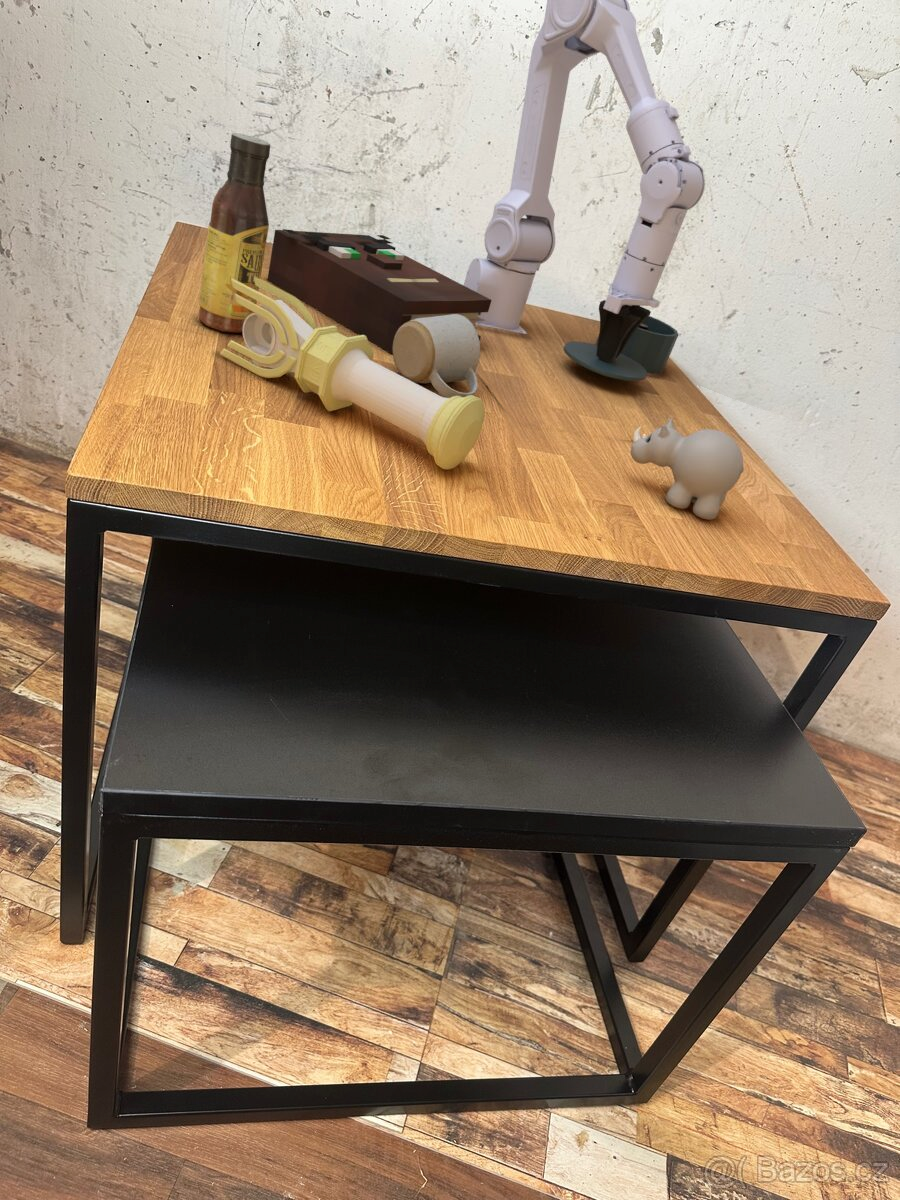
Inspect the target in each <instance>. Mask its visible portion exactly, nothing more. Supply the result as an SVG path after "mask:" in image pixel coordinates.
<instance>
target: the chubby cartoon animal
mask: <svg viewBox="0 0 900 1200" xmlns="http://www.w3.org/2000/svg"><path fill="white" fill-rule="evenodd" d="M641 428H642V426H639V427H637V429H636V430H635V431H634V432H633V436H632V444H631V447H630V457H631V458H632V460H633V461H634V462H635V463H638V464H641V465H645V464H649V463H651V464H652V465H656V466H658V467H659V468H660V467H661V468H664V467H666V468H667V467H668V468H670V470H671V472H672V476H673V479H674V482H673V484H672V485H671V486H670V488H669V489H668V491H667V493H666V495H665V500H666V502H667V504H669V505H670V506H672V507H674V508H676V509H683V510H684V509H687V508H688V507H689V506H690V504H691V503H693V506H692V513H693V514H694V515H695V516H696V517H698V518H700V519H704V520H711V521H712V520H714V519H716V518H717V516H718V514H719V512H720V507H722V505H723V504H724V503H725V500H726V497H727V493H728V492H729V491H730V490H732V489H733V488H734V487H735V486H736V484H737V483H738V482H739V479H740V477H741V475H742V474H743V472H744V471H745V467H744V456H743V453H742V450H741V447H740V446H739V444H738V442H737V441H736V440H735V439H734V438H733V437H732V436H731V435H729V434H727V433H726V432H724V431H722V430H719V429H711V428H709V429H708V428H706V429H700V430H696V431H694V432H692V433H690V434H688V435H686V436H683V435H682V434H681V433H680V432H679V431H678V430H677V429H675V428H674V420H673V418H670V419H668V421H667V424H666V425H665V424H662V425H661V427H658V428H656V429H655V430H653V431H652V432H651V433H650V434H648V435H647V434H646V433H643V434H642V436H641Z"/></svg>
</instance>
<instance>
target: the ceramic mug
mask: <svg viewBox="0 0 900 1200" xmlns="http://www.w3.org/2000/svg"><path fill="white" fill-rule="evenodd" d="M478 335H479V334H478V332H477V329H476V327H475V328H474V326H473V324H472V323H471V322H470V321H469V320H468V319H467V318H466V317H464V316H462V315H459V314H451V315H444V316H435V317H427V318H417V319H414V320H411V321H408V322H406V323H404V324H403V325H402V326H401V327H400V328H399V329H398V331H397V332H396V334H395V337H394V341H393V355H392V357H393V361H394V364H395V367H396V369H397V370H398V372H399V373H400V374H399V375H400V376H402V377H404V378H406V379H408V380H410V381H412V382H414V383H416V384H431V385H432V386H433V388H434V389H435V390H436V392H437V393H438V394H440V396H441V397H444V398H451V397H453V396H461V397H466V396H469V395H473V396H475V394H476V393H477V391H478V379H477V376H476V373H475V371H476V370H477V367H478V365H479V363H480V359H481V342H480V341H479V337H478ZM463 381H466V383H467V385H468V386H467V387H468V389H469V392H462V391H461V392H460V391H457V390H456V389H454V388H451V387H450V386H449V385H448V384H447V383H458V382H463Z"/></svg>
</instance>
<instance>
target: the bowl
mask: <svg viewBox="0 0 900 1200" xmlns="http://www.w3.org/2000/svg"><path fill="white" fill-rule="evenodd" d="M642 324H645V325H647V326H648V330H644V329H641V328H637V329H636V330H635V332H634V333H633V334H632V336H631V337H630V339H629V341H628V342H627V344H626V345H625V347H624V349H623V350H622V352H621V354H623V355H625V356H627V357H629V358H631V359H633V360H634V361H636V362H637V363H639V364H640V365H641V366H643V367H644V368H645V370H646V371H647V374H660V373H662V372H664V371H665V368H666V366H667V363H668V361H669V359H670V356H671V354H672V352H673V349H674V347H675V345H676V342H677V339H678V338H679V332H678V330H676V329H675V328H674V327H673V326H672V325H670V324H668V323H666V322H664V321H663V320H661V319H658V318H655V317H653V316H651V315H649V316H648V317H647V318H646V319H645V320H644V321H643V322H642ZM598 339H599V335H597V338H596V341H595V343H594V344H595V345H598Z"/></svg>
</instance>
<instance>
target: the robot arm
mask: <svg viewBox="0 0 900 1200" xmlns="http://www.w3.org/2000/svg"><path fill="white" fill-rule="evenodd" d="M543 18H544V19H543V22H542V25H541V27H540V29H539V31H538V34H537V36H536V38H535V41H534V43H533V45H532V49H531V54H530V60H529V67H528V74H527V79H526V86H525V92H524V100H523V106H522V111H521V118H520V125H519V130H518V131H519V132H518V138H517V142H516V143H517V144H516V150H515V156H514V164H513V168H512V175H511V180H510V181H511V182H510V183H511V184H510V188H509V191H508V192H507V194H505V195H504V196H502V197H501V198H500V199H499V200H498V201H497V202H496V203H495V204H494V206H493V213H492V216H491V218H490V221H489V223H488V225H487V227H486V229H485V233H484V247H485V251H486V253H487V255H486V258H481V257H475V258H473V260H471V262H470V264H469V266H468V269H467V271H466V276H465V279H464V283H463V285H464V286H465V287H467V288H469V289H471V290H473V291H475V292H477V293H479V294H481V295H483V296H485V297H487V298H489V299H491V300H492V301H491V304H490V307H489V311H488V312H482V313H479V314H478V317H480V318H482V319H484V320H486V321H476V324H475V325H477V326H483V327H488V328H493V329H498V330H503V331H508V332H514V333H519V334H524V335H528V332H527V331H526V330H525V329H524V328H523V327H522V326H521V325H520V324H521V320H522V317H523V314H524V311H525V309H526V308H525V307H526V305H527V301H528V299H529V295H530V293H531V289H532V286H533V282H534V279H535V276H536V273H537V272H539V270H540V267H541V264H545V262H548V260H549V259H550V258H551V257H552V255H553V253H554V250H555V247H556V234H555V227H554V226H555V225H554V223H555V217H556V212H555V210H554V208H553V206H552V204H551V201H550V199H549V193H550V188H551V183H552V182H551V181H552V176H553V170H554V164H555V159H556V152H557V147H558V142H559V135H560V129H561V125H562V119H563V113H564V107H565V101H566V95H567V90H568V84H569V78H570V73H571V71H572V70H573V69H574V68H576V67H577V66H578V65H579V64H580V63H582V62H583V61H584V60H586V59H588V58H591V57H593V56H596V55H597V54H602V55H604V56H605V57H606V60H607V62H608V65H609V67H610V69H611V72H612V73H613V76H614V78H615V80H616V83H617V85H618V87H619V90H620V91H621V93H622V96H623V98H624V100H625V103H626V105H627V107H628V109H629V112H630V113H629V116H628V118H627V121H626V124H625V129H626V132H627V134H628V137H629V140H630V143H631V145H632V147H633V151H634V154H635V157H636V158H637V161H638V164H639V166H640V169H641V172H642V175H641V178H640V183H639V190H640V197H641V199H640V203H639V207H638V210H637V211H638V214H637V216H636V219H635V221H634V224H633V226H632V229H631V232H630V235H629V238H628V241H627V243H626V246H625V248H624V251H623V253H622V256H621V259H620V262H619V264H618V267H617V270H616V271H615V275H614V277H613V281H612V282H611V283H610V284H609V287H608V294H607V296H606V299H604V300H601V301H599V305H598V312H599V332H598V336H599V339H598V345H597V354H596V356H598V357H600V358H602V359H604V360H607V361H611V360H612V358H613V357H614V356H615V354H616V352H617V350H618V349H619V351H618V353H617V356H616V358H617V357H618V356H619V355H620V353H621V352H622V350H623V349H624V347H625V345H626V344H627V342H628V341H629V339H630V337H631V336H632V334H633V333H634V332H635V330H636V329H637V328H638V327H639V325H640V324H641V323H642V322H643V321H644V320H645V319H646V318H647V317H648V316H651V313H652V311H651V310H649V309H648V308H645V307H651V308H654V309H657V308H659V306H660V304H661V301H659V300H658V299H656V298H654V295H655V292H656V290H657V287H658V285H659V282H660V281H661V278H662V275H663V273H664V270H665V268H666V265H667V263H668V261H669V257H670V255H671V252H672V250H673V248H674V246H675V243H676V240H677V238H678V235H679V233H680V230H681V228H682V226H683V223H684V220H685V217H686V215H687V213H688V211H689V210H691V209H692V208H694V207H696V205H698V203H699V202H700V200H701V199H702V197H703V195H704V191H705V187H706V179H705V173H704V168H703V167H702V165H700V164H699V163H698V162H697V161H693V160H691V159H690V156H691V155H692V151H691V148H690V147H689V146H688V145H685V142H684V139H683V137H682V134H681V132H680V129H679V125H678V123H677V121H676V120H677V119H679V118H680V115H679V112H678V109H677V107H675V106H671V105H670V103H669V102H668V101H666V100H664V99H659V98H657V95H656V92H655V89H654V86H653V83H652V79H651V76H650V73H649V69H648V67H647V64H646V63H647V62H646V60H645V56H644V54H643V50H642V46H641V43H640V40H639V37H638V33H637V18H636V17H635V16H634V14H633V12H632V11H631V7H630V4H629V0H547V1H546V7H545V12H544V17H543ZM643 306H644V307H643ZM620 345H621V346H620ZM619 347H620V348H619Z"/></svg>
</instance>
